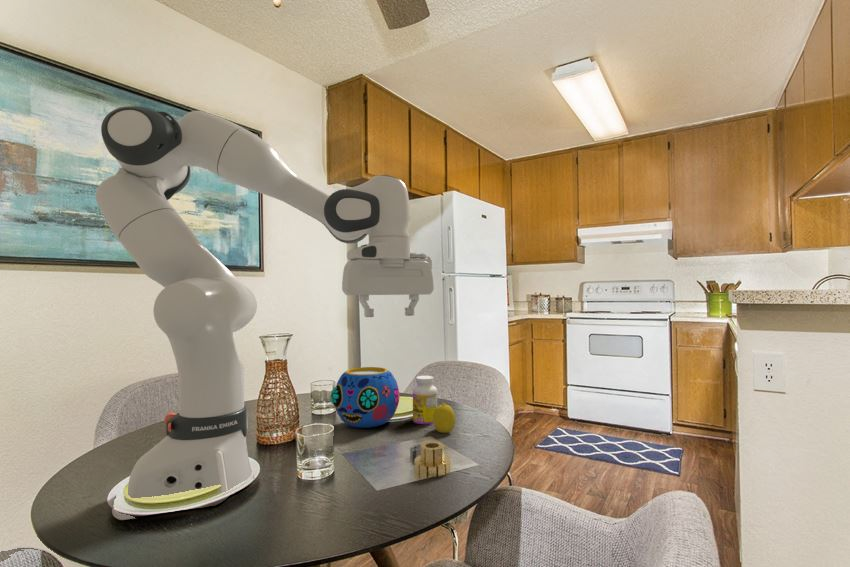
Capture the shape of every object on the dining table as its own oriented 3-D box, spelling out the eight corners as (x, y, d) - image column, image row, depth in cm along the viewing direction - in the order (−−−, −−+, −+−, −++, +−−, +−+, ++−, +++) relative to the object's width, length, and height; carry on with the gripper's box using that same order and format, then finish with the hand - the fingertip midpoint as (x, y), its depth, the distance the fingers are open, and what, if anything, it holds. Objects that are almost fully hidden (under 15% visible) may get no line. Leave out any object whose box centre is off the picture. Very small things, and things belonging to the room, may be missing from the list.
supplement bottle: (408, 423, 118) (407, 376, 118) (429, 419, 121) (428, 373, 121) (420, 430, 112) (420, 380, 112) (442, 425, 115) (441, 377, 116)
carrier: (376, 497, 76) (376, 470, 76) (341, 459, 93) (341, 437, 93) (479, 470, 86) (479, 447, 86) (430, 441, 104) (430, 421, 104)
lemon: (455, 431, 110) (455, 400, 110) (455, 439, 105) (454, 406, 105) (434, 431, 111) (433, 400, 111) (432, 438, 105) (431, 405, 105)
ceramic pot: (320, 432, 111) (319, 374, 111) (356, 414, 128) (356, 363, 128) (379, 440, 104) (379, 378, 105) (410, 420, 121) (409, 366, 121)
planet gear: (425, 479, 80) (425, 454, 80) (408, 466, 86) (408, 443, 86) (457, 471, 83) (457, 447, 83) (439, 459, 89) (438, 437, 89)
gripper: (424, 255, 101) (425, 314, 100) (339, 251, 91) (339, 317, 91) (438, 252, 95) (439, 315, 95) (349, 248, 85) (349, 318, 85)
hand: (389, 316), depth 93 cm, fingers open, 8 cm apart
